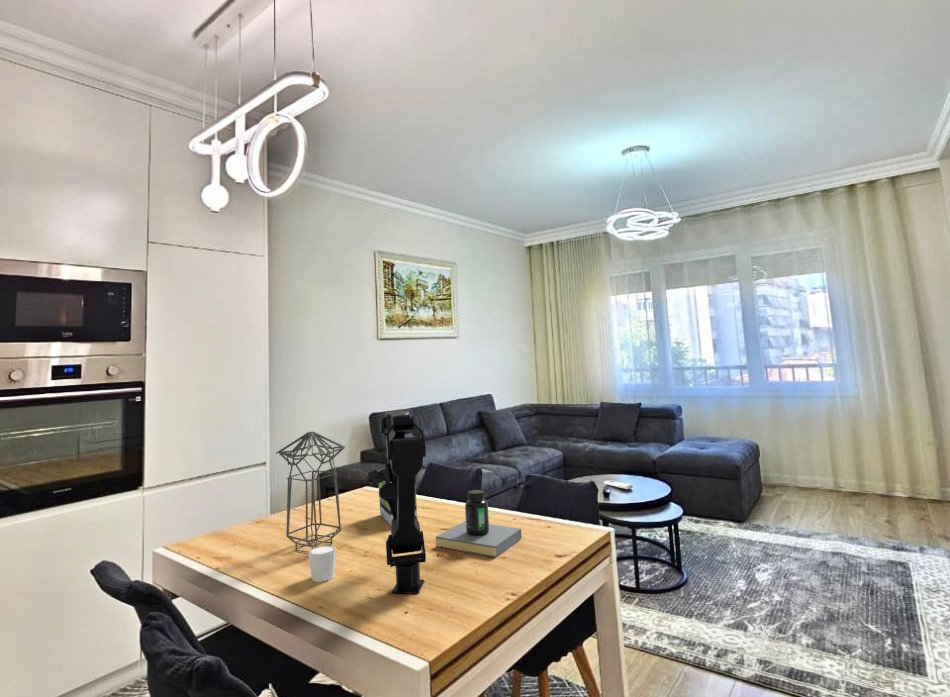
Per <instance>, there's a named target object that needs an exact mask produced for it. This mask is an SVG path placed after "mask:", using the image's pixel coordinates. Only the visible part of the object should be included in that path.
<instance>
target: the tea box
mask: <svg viewBox="0 0 950 697" xmlns="http://www.w3.org/2000/svg"><path fill="white" fill-rule="evenodd" d="M390 483H392V482H390ZM384 484H385V481H383V482H381V483H378V490H379V489H380V488H381V487H382V486H383V485H384ZM378 497H379V496H378ZM378 501H379V514H380V516H382V518H384V520H385V521H386V522H387V523H388V524H389V525H390V526H391V525H392V519H393V515H392V512H391V509H390V506H389V504H388V502H387V501H385V500H383V499H382V498H381V497H379V500H378ZM417 506H418V505H417V487H416V488H415V516H416V517H417V518H418V507H417Z"/></svg>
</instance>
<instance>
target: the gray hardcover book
mask: <svg viewBox="0 0 950 697" xmlns="http://www.w3.org/2000/svg"><path fill="white" fill-rule="evenodd" d="M522 535H523V534H522V528H519V527H512V526H505V525H497V524H490V523H489V532H488V533H487V534H485V535H482V536H472V535H469V534H467V532H466V520H463V522H461V523H459V524H456V525H455V526H453V527H451V528H449V529H447V530H445V531H444V532H442V533H440V534H438V535H436V536H435V547H436V548H440V547H443V548H442V549H446V548H447V549H448V550H451V549H453V550H452V551H458V552H463V553H469V554H476V555H480V556H484V557H491V558H497V557H500V555H501V554H503V553H504V552H505V551H507V550H509V549H510V548H511V547H513V546H514V545H515V544H516V542H517V543H518V542H519V541H520V539H521V538H523V537H522ZM521 540H522V539H521ZM447 549H446V550H447Z"/></svg>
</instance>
